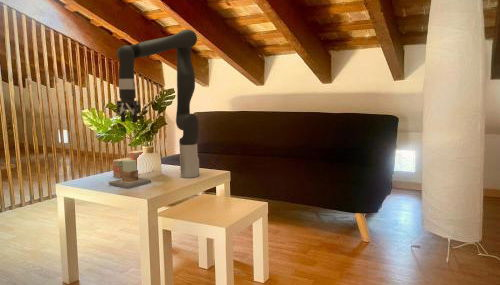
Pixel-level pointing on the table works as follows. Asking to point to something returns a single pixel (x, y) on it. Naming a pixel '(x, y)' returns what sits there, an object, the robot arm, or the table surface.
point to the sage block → (129, 165)
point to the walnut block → (130, 176)
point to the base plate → (129, 185)
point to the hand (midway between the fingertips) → (129, 122)
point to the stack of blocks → (118, 163)
